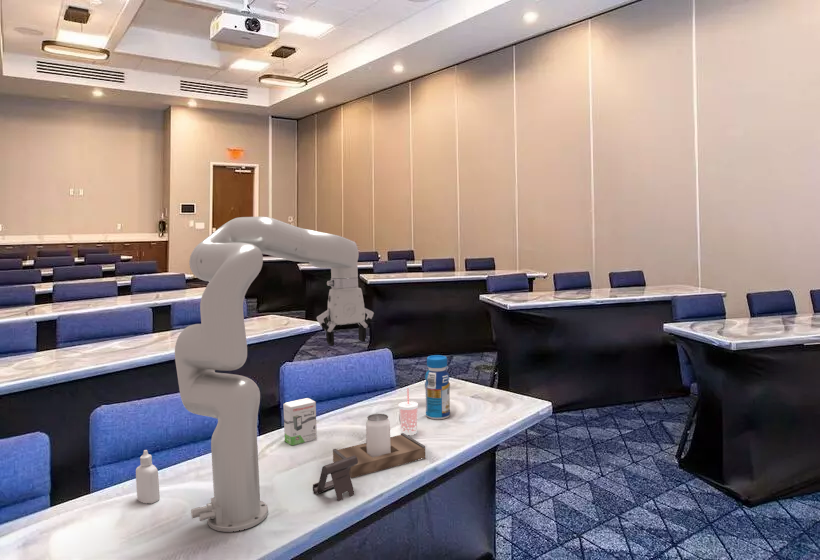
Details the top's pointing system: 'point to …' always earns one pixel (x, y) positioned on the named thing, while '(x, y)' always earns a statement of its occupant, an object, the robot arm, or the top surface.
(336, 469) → the portable electronic device stand
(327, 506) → the top surface
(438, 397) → the beverage bottle
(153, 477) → the eye dropper bottle
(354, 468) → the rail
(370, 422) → the can
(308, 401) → the ink box
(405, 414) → the beverage cup
